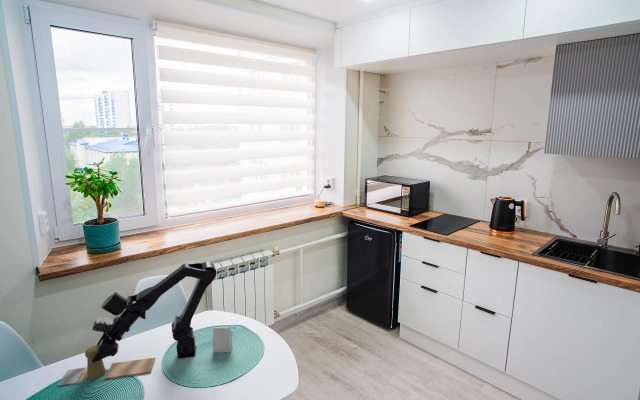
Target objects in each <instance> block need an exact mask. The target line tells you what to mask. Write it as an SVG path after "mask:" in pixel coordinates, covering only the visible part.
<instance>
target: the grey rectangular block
mask: <svg viewBox="0 0 640 400" xmlns="http://www.w3.org/2000/svg"><path fill="white" fill-rule="evenodd" d="M231 331H232V330H231V327H219V326H218V327H215V326H213V329H212V350H213V351H212V352H213V353H223V352H230V353H231V351H232V349H233V334H232V332H231ZM231 348H232V349H231ZM230 350H231V351H230Z"/></svg>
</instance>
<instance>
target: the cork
mask: <svg viewBox="0 0 640 400" xmlns="http://www.w3.org/2000/svg"><path fill="white" fill-rule="evenodd" d="M97 352H98V345H97V344H95V345H91V346H90V347H89V346H88V347H87V348H86V350H85V352H84V356H85V358H87V359H86V361H87V364H86V365H87V367H86V368H87V374H86V378H87V379H88V380H90V381H91V380H97V379H100V378H102V377H103V376H105V374H107V370H106V367H105V364H104V361H103V360H104V359H101V360H99V361H97V362H95V363H93V362H92V359H93V358H94V356H95V355H96V353H97Z"/></svg>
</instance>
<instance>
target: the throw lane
mask: <svg viewBox="0 0 640 400" xmlns="http://www.w3.org/2000/svg"><path fill="white" fill-rule="evenodd" d="M155 361H156V357H147V358H141V359H136V360H135V359H134V360H127V361H120V362H113V363H111V365H110V367H109V368H108V371H107V372H106V375H105V376H104V380H111V379H112V380H113V379H118V378H125V377H131V376H139V375H144V374H145V375H147V374H151V373H152V370H153V367H154V364H155ZM86 376H87V367H78V368H72V369H67V371H66V372H65V374H64V376H63V377H62V378H61V380H60V381H59V383H58V384H57V387H63V386H70V385H76V384H81V383H82V382H83V380H84V379H85V377H86Z"/></svg>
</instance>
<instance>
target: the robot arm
mask: <svg viewBox="0 0 640 400" xmlns="http://www.w3.org/2000/svg"><path fill="white" fill-rule="evenodd" d="M186 277H189V278H194V279H197V280H196V283H195V286H194V287H193V289H192V292H191V294H190V296H189V297H188V301H187V302H186V304H185V307H184V309H183V311H182V313H181V314H180V315H179V316H178V315H175V316H174V320H173V322H172V323H171V333H172V339H173V340H175V341H176V342H177V343H176V355H177V358H178V359H185V358H192V357H195V356H196V355H197V354H196V351H197V349H198V348H197V345H196V337H195V334H194V328H193V327H191V324H192V320H193V317H194V315H195V314H196V311H197V309H198V306H199V305H200V302H201V300H202V298H203V295H204V293H205V291H206V289H207V288H208V287H209V286H210V285H211V284H212V283H213V282H214V280H215V279H216V277H217V269H216V267H215V265H214V263H213V262H211V261H204V262H192V263H188V262H187V263H186V262H185V263H182V264H181V265H180V266H179V267H178V268H177V269H175V270H174V271H172V272H171V273H169V275H167V276H166V277H164V278H163V279H162V280H160V281H159V282H158V283H156V284H155V285H153V286H150V287H147V288H145V289H143V290H142V291H140V292H138V293H137V294H132V295H130V296H127V297H126V298H125V297H124V296H122V295H120V294H119V293H118V292H116V291H115V292H113V293H112V294H110V295H109V296H107V298H106V299H105V300H104V301H103V303H102V304H101V306H100V308H101V309H102V310H104V311H105V312H108V313H109V314H112V316H114V318H109V317H105V316H100V315H99V316H98V315H97V316H96V318H95V321H94V323H93V326H92V328H91V331H95V332H99V333H102V335H101V337H100V338H99V340H98V342H97V343H96V345H98V352H97V353H96V355H95V356H94V358H93V359H92V362H93V363H95V362H97V361H99V360H101V359H102V360H104V359H105V358H108V357H115V355H117V354H118V352H119V343H118V342H116V341H119V342H120V341H121V340H122V338H123V336H124V335H125V333H128V332H130V330H131V327H132V326H133V325H134V324H135V323H136V321H137V320H138V319H139V318H141V319H143V320H146V319H147V318H146V317H147V313H146V312H147V311H148V310H150V309H151V308H152V307H153V306H154V305H155V304H156V303H157V301H158V300H159V299H160V297H162V296H163V295H164V294H165V293H166V292H167V291H170V289H172V288H174V287H175V286H176V285H177V284H179V283H180V282H182V280H184V279H185V278H186Z"/></svg>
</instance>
